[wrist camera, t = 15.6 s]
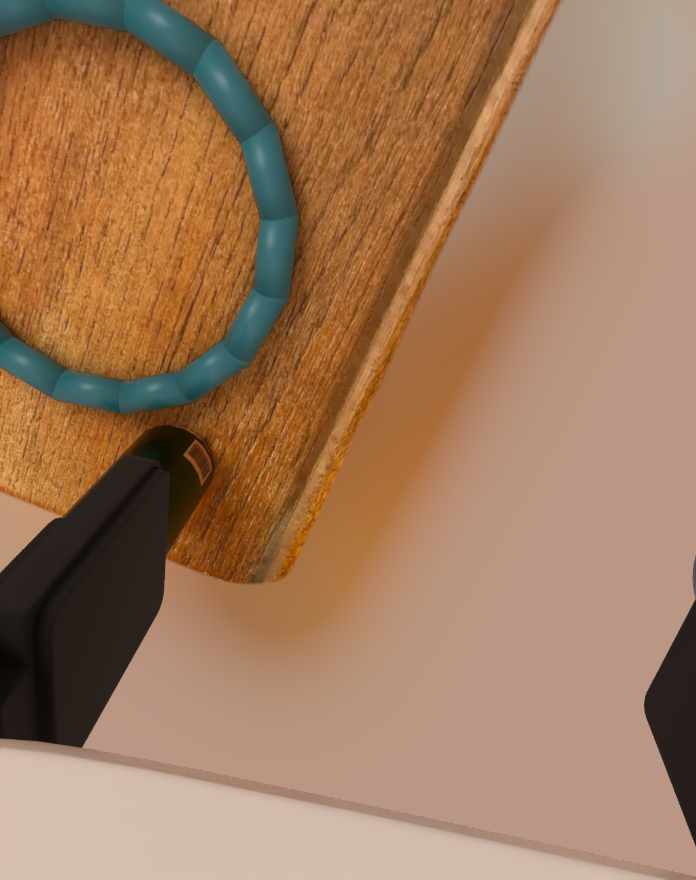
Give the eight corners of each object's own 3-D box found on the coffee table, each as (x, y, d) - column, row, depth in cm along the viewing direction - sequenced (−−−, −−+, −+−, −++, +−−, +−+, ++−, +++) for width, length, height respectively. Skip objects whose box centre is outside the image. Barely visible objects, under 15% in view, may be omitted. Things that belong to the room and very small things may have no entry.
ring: (328, 22, 30) (322, 15, 28) (273, 435, 40) (266, 449, 38) (-120, -62, 31) (-154, -75, 29) (-67, 365, 40) (-91, 376, 38)
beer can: (181, 405, 39) (90, 505, 29) (234, 471, 41) (166, 590, 30) (119, 445, 41) (12, 554, 30) (172, 507, 43) (87, 631, 32)
